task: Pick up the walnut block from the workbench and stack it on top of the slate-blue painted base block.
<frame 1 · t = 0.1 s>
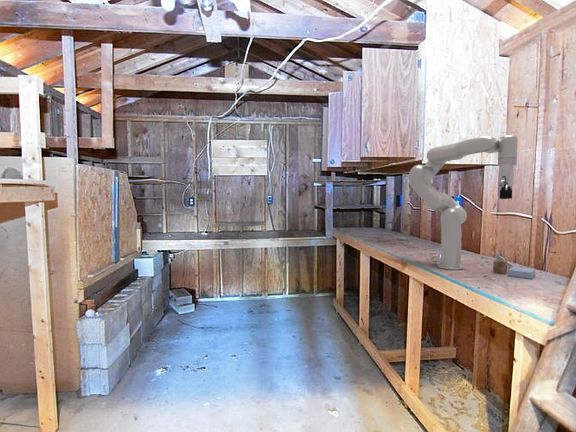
hand: (505, 198, 165), 37 cm above the table, tool pointing down, fingers open, 9 cm apart
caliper: (507, 267, 184), on the table
base block: (521, 275, 165), on the table
walnut block: (500, 272, 172), on the table
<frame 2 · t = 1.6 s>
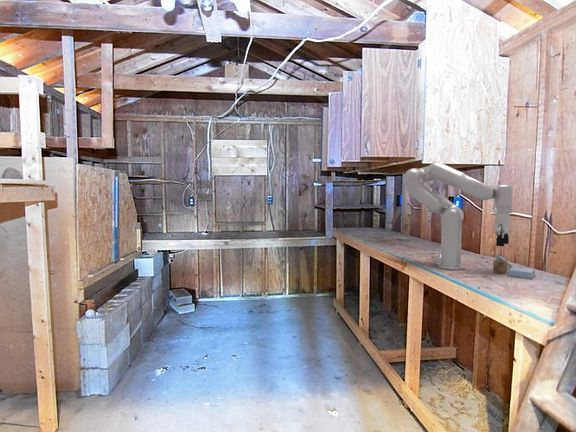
hand: (502, 245, 170), 14 cm above the table, tool pointing down, fingers open, 9 cm apart
nothing on the table moved.
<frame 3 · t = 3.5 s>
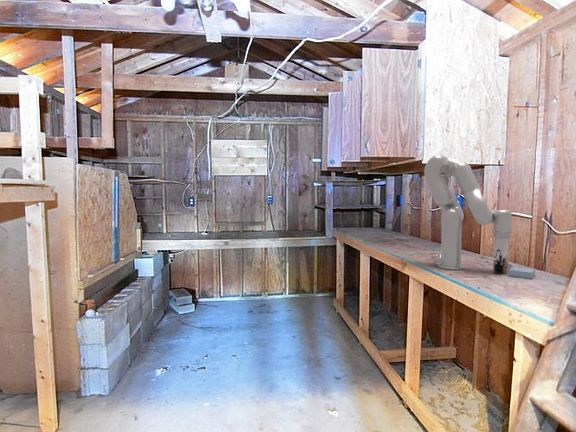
hand: (500, 271, 172), 1 cm above the table, tool pointing down, fingers closed on walnut block, 5 cm apart
walnut block: (500, 272, 172), on the table, touching gripper
everything else where it was.
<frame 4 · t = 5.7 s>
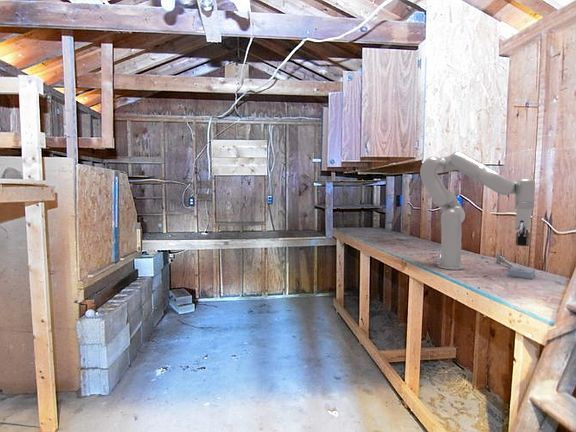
hand: (523, 243, 164), 15 cm above the table, tool pointing down, fingers closed on walnut block, 5 cm apart
walnut block: (523, 245, 164), point 15 cm above the table, touching gripper
everything else where it was.
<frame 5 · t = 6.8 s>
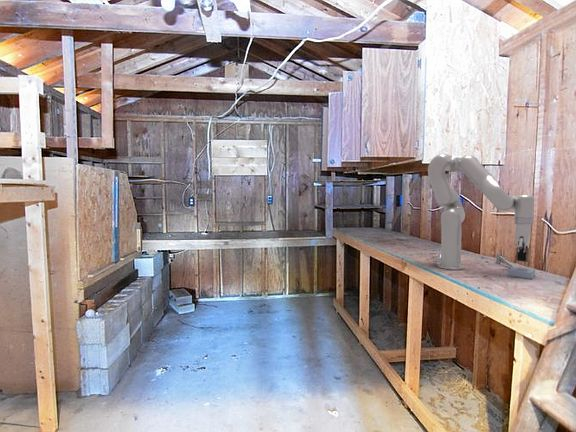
hand: (522, 259, 164), 8 cm above the table, tool pointing down, fingers closed on walnut block, 5 cm apart
walnut block: (522, 260, 164), point 7 cm above the table, touching gripper
everything else where it was.
when the fingers open (5 cm above the table, at t = 7.9 s): walnut block stays where it is, resting on base block.
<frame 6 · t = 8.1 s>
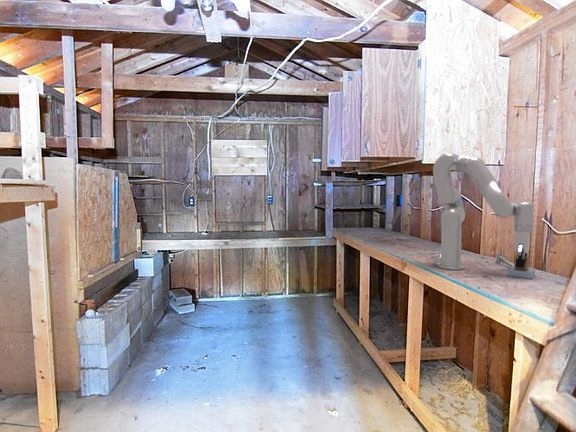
hand: (521, 265, 165), 5 cm above the table, tool pointing down, fingers open, 7 cm apart
walnut block: (521, 269, 165), point 3 cm above the table, touching base block
everything else where it was.
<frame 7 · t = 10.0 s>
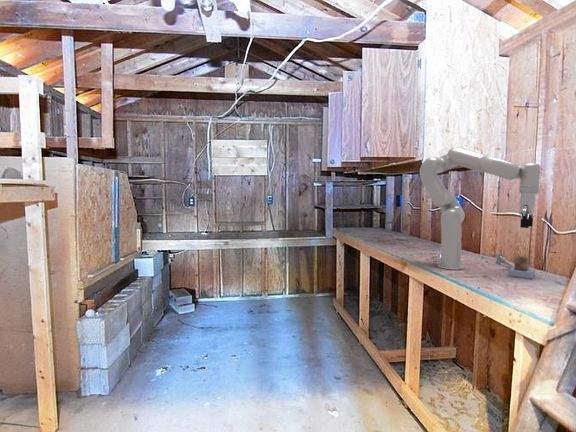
hand: (526, 226, 163), 23 cm above the table, tool pointing down, fingers open, 9 cm apart
nothing on the table moved.
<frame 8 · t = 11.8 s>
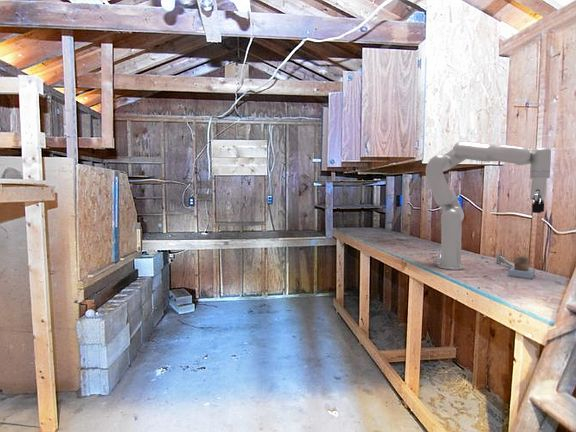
hand: (538, 212, 162), 30 cm above the table, tool pointing down, fingers open, 9 cm apart
nothing on the table moved.
at the end: walnut block inside the target area on the base block (0.0 cm from its centre), point 3.0 cm above the base block's base; walnut block tilted 0°; the gripper is holding nothing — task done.
